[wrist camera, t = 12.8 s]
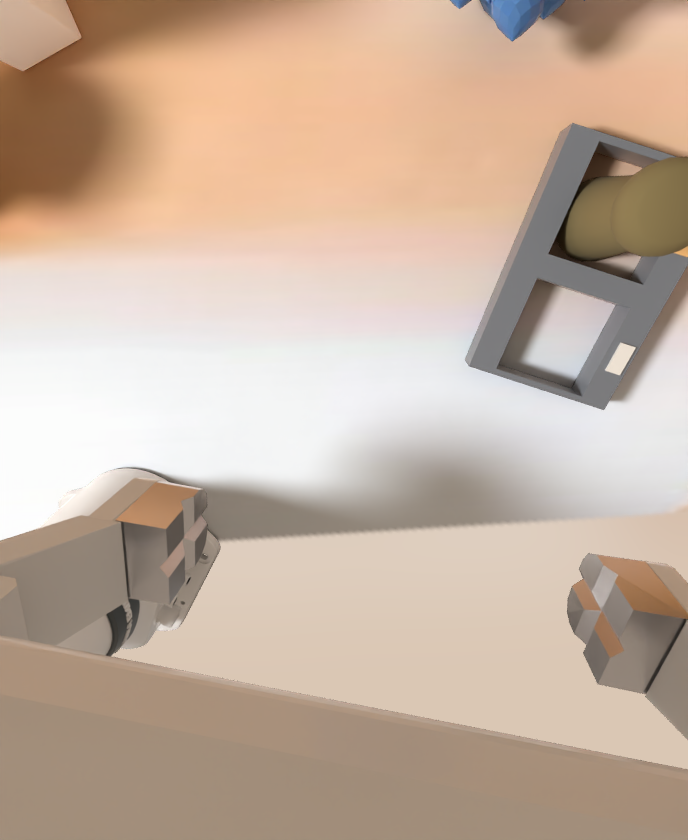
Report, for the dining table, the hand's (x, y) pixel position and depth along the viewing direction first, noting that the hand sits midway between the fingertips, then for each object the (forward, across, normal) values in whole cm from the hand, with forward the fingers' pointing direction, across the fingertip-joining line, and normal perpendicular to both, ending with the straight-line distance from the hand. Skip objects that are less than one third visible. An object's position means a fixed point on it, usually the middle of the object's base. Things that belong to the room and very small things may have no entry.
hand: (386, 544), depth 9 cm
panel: (+31, -14, -6) cm, 35 cm away
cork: (+31, -14, -10) cm, 36 cm away
